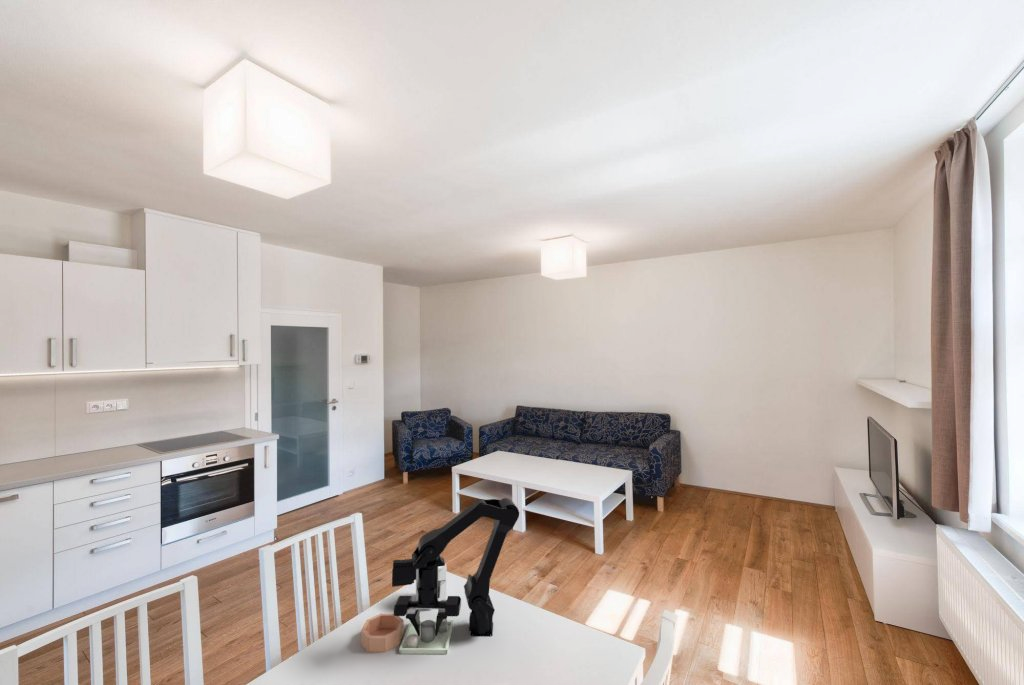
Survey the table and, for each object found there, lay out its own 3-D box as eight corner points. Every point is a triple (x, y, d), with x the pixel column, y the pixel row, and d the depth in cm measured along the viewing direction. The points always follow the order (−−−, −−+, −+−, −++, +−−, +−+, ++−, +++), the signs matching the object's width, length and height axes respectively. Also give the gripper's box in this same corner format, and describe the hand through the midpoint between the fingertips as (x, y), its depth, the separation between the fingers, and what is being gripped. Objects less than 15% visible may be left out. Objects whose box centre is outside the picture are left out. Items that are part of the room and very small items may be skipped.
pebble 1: (418, 643, 121) (419, 634, 121) (416, 651, 118) (416, 641, 118) (408, 643, 121) (408, 633, 121) (405, 651, 118) (405, 641, 118)
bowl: (406, 628, 129) (406, 613, 129) (396, 653, 118) (396, 638, 118) (370, 627, 129) (370, 613, 129) (356, 653, 118) (357, 637, 118)
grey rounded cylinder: (435, 633, 126) (435, 619, 126) (433, 642, 122) (433, 628, 122) (422, 633, 126) (422, 619, 126) (419, 642, 122) (419, 628, 122)
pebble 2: (447, 626, 129) (447, 617, 129) (446, 632, 126) (446, 623, 126) (437, 626, 129) (437, 617, 129) (436, 632, 126) (436, 623, 126)
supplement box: (430, 612, 137) (430, 572, 137) (415, 604, 141) (415, 565, 142) (446, 601, 143) (447, 563, 143) (431, 594, 147) (432, 557, 148)
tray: (453, 625, 130) (453, 620, 130) (447, 655, 118) (447, 649, 118) (410, 625, 130) (410, 620, 130) (399, 655, 118) (399, 649, 118)
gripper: (463, 567, 132) (463, 618, 132) (403, 566, 132) (402, 617, 132) (458, 587, 121) (458, 642, 121) (393, 586, 121) (392, 642, 121)
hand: (427, 635), depth 124 cm, fingers open, 5 cm apart
